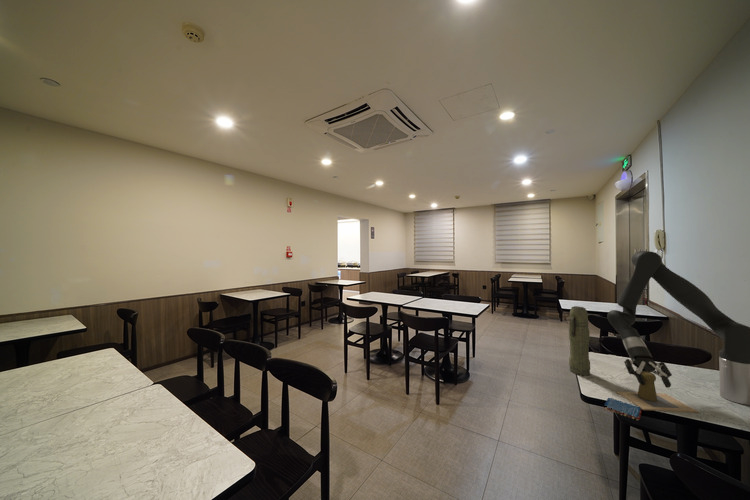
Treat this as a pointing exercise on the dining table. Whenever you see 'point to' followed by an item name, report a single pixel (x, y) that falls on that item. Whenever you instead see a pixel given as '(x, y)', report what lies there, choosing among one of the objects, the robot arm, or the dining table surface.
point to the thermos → (579, 341)
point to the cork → (647, 387)
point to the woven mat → (623, 408)
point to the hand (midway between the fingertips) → (656, 385)
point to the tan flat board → (657, 402)
